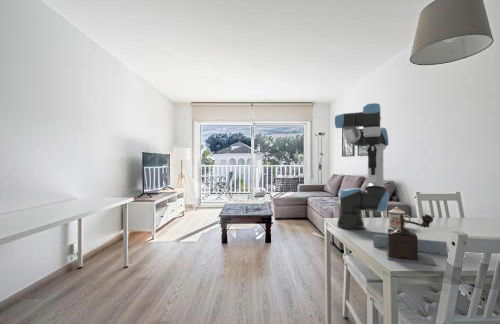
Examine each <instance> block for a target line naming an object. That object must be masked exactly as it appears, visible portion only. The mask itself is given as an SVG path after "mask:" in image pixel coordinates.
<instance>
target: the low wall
mask: <svg viewBox="0 0 500 324" xmlns="http://www.w3.org/2000/svg"><path fill="white" fill-rule="evenodd" d="M372 239H373V240H372V243H373V244H372V245H373V248H379V249H380V248H387V249H388V235H380V234H379V235H378V234H373V237H372ZM417 245H418V252H420V253H429V254H431V253H433V254H439V255H440V256H447V255H448V254H447V253H448V249H447V247H448V245H447V241H443V240H442V241H441V240H431V239H430V240H429V239H420V238H417Z"/></svg>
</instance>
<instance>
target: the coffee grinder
mask: <svg viewBox="0 0 500 324" xmlns="http://www.w3.org/2000/svg"><path fill="white" fill-rule="evenodd" d="M400 217H401V218H400V220H401V226H400V227H399V228H387V236H388V248H387V249H388V256H389V257H393V258H400V259H410V260H418V253H419V251H418V245H417V239H419V238H418V235H417V233H416V232H415V230H413V231H412V230H410V229H408V228H406V227H405V228H404V227H403V221H405V222H407V223H406V224H413V225H416V226H419V227H421V228H430V227H431V226H430V224H432V222H434V217H433V216H431V215H430V214H423V215H422V216H421V220H422V222H421V223H419V222H416V221H413V220H412V221H411V220H410V221H409V220H406V219H405V220H404V218H403V217H404V216H403V215H400Z"/></svg>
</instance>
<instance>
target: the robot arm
mask: <svg viewBox="0 0 500 324" xmlns="http://www.w3.org/2000/svg"><path fill="white" fill-rule="evenodd" d="M381 111H382V110H381V105H380V104H379V103H375V102H374V103H373V102H372V103H366V104H364V105H363V107H362V111H358V112H347V113H345V112H344V113H338V114H335V115H334V127H335V128H336V129H342V131H343V133H344V139H345V141H346V142H348V143H349V144H351V145H353V146H355V147H365V149H366V151H367V185H366V186H365V187H364V190H362V189H361V187H351V188H343V189H341V190H340V193H339V200H340V201H339V202H340V203H339V205H340V206H339V208H340V209H339V212H340V213H339V216H338V219H337V225H336V226H337V227H338V228H340V229H344V230H355V231H356V230H363V229H364V228H365V223H364V220H363V217H362V213H361V211H365V212H366V211H368V212H377V213H379V212H386V211H387V210H388V206H389V199H390V191H388V190H387V187H386V186H384V183H385V182H384V150H386V149H387V146H389V135H388V131H387V130H388V129H386V128H385V127H381V120H382V119H381ZM362 127H363V128H362Z"/></svg>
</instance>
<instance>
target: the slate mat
mask: <svg viewBox="0 0 500 324" xmlns="http://www.w3.org/2000/svg"><path fill="white" fill-rule="evenodd" d="M385 250H386V251H385V252H386V257H387V260H388V261H394V262H395V261H396V262H404V263H410V264H411V263H413V264H420V265H428V266H434V267H435V266H437V264H436V262H435V261H434V258H432V255H430V254H431V253H426V252H418V260H410V259H400V258H393V257H389V256H388V248H387V249H385Z"/></svg>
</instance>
